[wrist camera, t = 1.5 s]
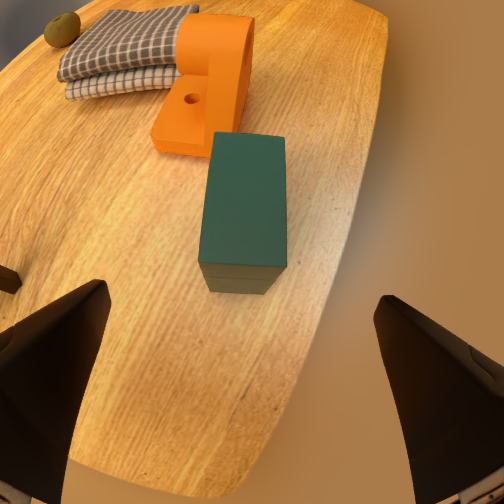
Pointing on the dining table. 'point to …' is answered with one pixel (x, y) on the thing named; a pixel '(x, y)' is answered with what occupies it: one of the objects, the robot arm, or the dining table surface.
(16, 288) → the dark pull handle
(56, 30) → the apple
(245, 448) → the dining table surface
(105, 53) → the towel
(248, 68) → the bracket
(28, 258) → the dining table surface
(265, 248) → the dark green block
